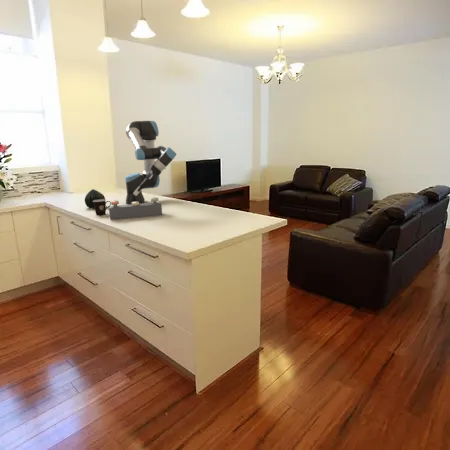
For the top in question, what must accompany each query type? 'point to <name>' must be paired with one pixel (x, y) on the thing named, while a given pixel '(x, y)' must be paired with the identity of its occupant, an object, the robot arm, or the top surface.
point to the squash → (93, 198)
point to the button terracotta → (114, 203)
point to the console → (135, 211)
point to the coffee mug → (100, 206)
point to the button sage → (154, 200)
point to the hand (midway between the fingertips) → (134, 194)
